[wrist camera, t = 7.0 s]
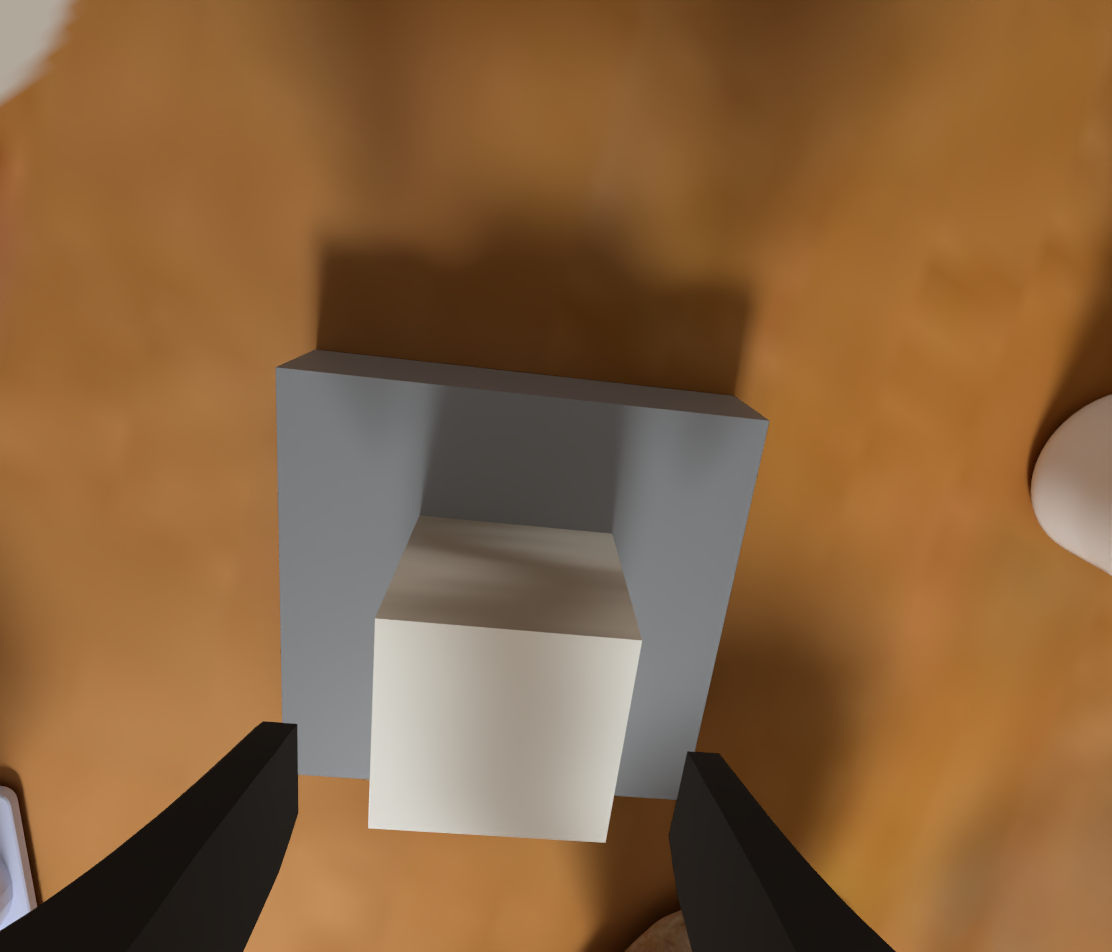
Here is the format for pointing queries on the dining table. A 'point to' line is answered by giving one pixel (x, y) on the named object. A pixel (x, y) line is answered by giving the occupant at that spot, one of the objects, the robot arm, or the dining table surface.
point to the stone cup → (664, 936)
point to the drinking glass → (1078, 484)
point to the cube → (501, 682)
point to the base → (511, 498)
